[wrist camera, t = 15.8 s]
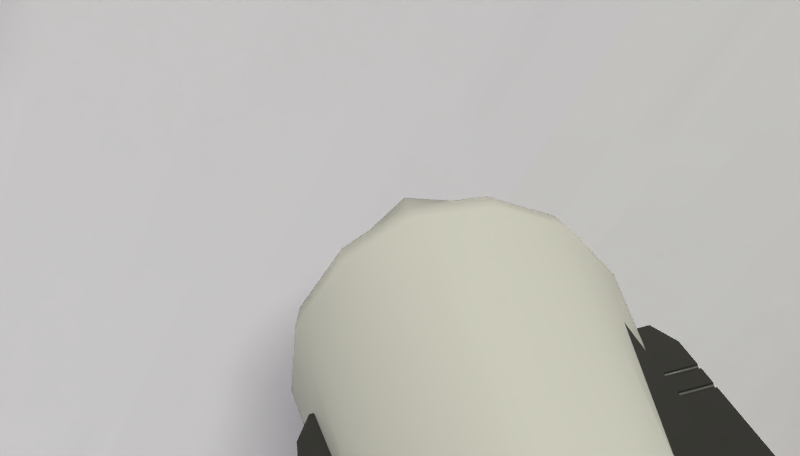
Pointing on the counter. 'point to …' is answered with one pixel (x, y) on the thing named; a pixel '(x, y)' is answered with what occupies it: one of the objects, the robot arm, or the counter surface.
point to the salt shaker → (472, 341)
